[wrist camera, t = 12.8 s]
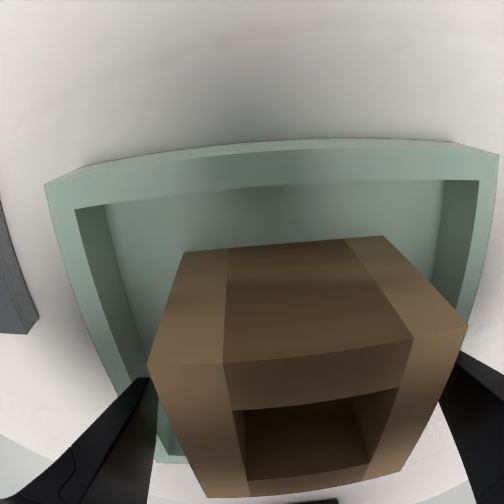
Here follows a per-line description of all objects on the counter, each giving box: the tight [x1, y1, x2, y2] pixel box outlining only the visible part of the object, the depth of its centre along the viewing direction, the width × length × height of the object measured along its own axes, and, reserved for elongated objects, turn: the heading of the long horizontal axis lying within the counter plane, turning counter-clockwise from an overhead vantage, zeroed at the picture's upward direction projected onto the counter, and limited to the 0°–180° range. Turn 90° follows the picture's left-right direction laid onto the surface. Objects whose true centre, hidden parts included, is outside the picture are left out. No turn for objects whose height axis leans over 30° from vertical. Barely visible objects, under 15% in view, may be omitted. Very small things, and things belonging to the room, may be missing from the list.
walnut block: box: [147, 235, 469, 498], centre depth 9 cm, size 6×6×5 cm
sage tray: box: [44, 138, 499, 464], centre depth 11 cm, size 13×13×2 cm
